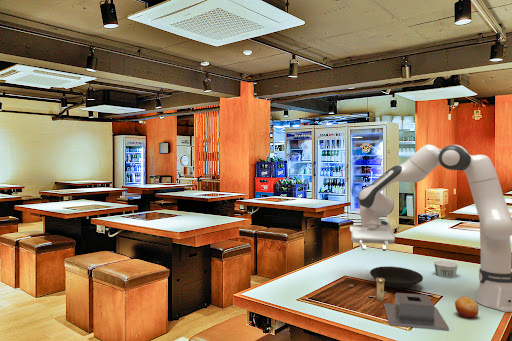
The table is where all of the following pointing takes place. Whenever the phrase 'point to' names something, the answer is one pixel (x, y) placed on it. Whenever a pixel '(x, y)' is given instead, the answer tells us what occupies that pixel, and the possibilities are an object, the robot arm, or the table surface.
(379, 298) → the pin
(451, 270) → the food container
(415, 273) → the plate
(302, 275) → the table surface
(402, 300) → the block
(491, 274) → the robot arm
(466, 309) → the fruit
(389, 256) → the table surface
